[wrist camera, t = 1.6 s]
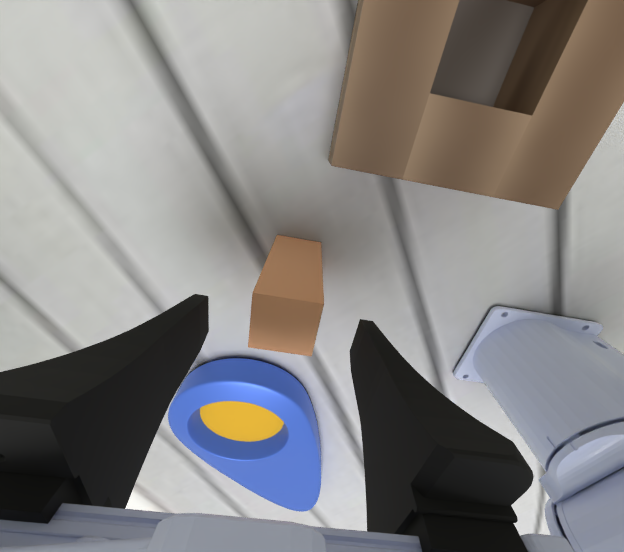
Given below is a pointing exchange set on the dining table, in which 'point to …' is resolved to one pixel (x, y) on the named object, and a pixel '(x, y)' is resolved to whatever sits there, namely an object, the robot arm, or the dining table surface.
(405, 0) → the socket block
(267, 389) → the location marker
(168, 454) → the dining table surface
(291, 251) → the peg
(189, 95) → the dining table surface
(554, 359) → the robot arm
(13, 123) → the dining table surface
